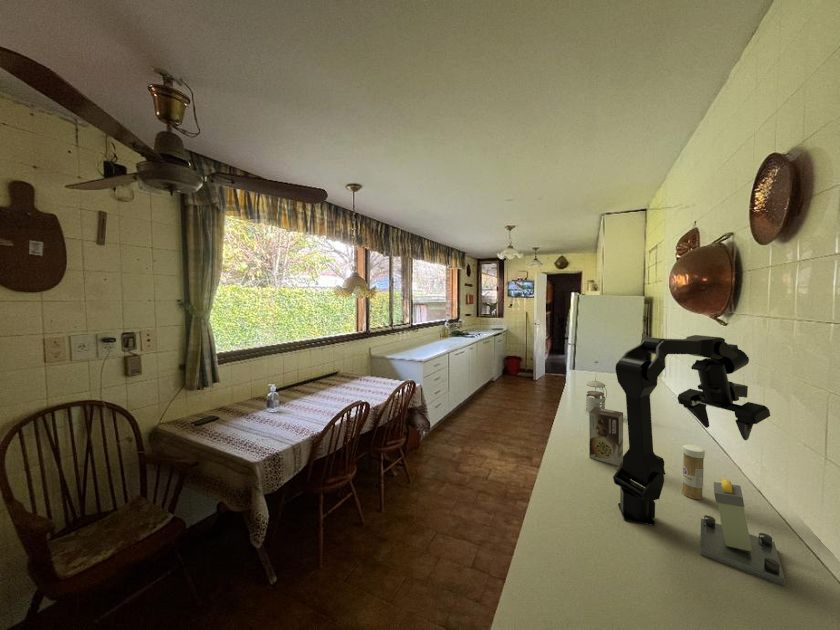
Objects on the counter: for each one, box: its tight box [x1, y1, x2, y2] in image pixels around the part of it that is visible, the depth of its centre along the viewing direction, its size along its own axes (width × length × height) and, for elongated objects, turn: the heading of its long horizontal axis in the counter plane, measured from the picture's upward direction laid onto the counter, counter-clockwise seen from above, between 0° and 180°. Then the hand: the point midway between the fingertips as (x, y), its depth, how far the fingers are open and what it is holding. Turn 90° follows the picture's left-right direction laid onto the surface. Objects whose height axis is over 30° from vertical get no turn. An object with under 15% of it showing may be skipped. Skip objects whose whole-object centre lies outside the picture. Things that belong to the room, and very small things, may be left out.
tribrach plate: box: [700, 514, 785, 587], centre depth 70 cm, size 12×12×3 cm
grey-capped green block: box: [713, 478, 752, 552], centre depth 70 cm, size 4×5×12 cm
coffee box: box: [588, 407, 624, 467], centre depth 111 cm, size 9×6×16 cm
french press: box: [584, 360, 608, 414], centre depth 153 cm, size 10×12×25 cm
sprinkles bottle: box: [681, 443, 706, 500], centre depth 90 cm, size 5×5×14 cm
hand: (725, 433), depth 90 cm, fingers open, 9 cm apart
